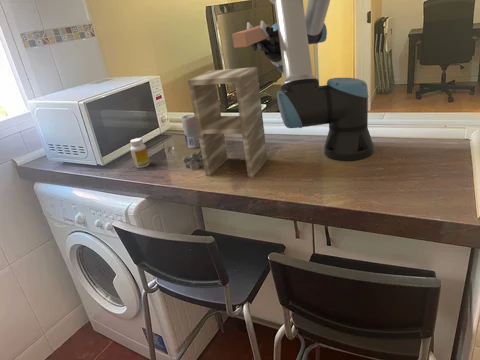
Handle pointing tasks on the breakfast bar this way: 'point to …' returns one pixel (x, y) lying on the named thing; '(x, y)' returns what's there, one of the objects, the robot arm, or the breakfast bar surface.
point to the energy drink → (190, 131)
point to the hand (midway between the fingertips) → (254, 25)
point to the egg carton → (193, 160)
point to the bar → (248, 36)
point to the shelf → (229, 117)
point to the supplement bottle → (139, 153)
